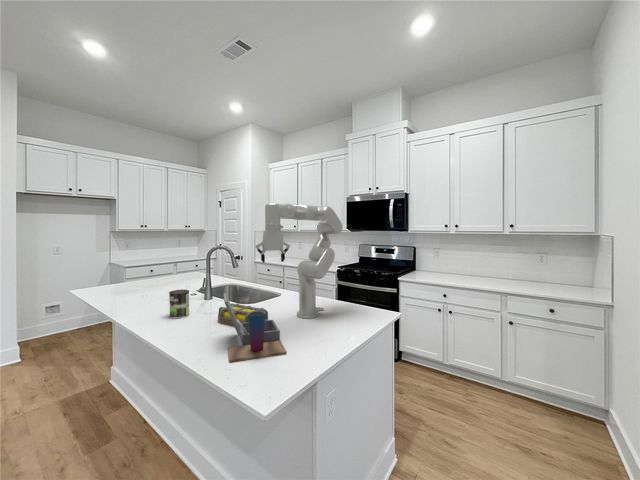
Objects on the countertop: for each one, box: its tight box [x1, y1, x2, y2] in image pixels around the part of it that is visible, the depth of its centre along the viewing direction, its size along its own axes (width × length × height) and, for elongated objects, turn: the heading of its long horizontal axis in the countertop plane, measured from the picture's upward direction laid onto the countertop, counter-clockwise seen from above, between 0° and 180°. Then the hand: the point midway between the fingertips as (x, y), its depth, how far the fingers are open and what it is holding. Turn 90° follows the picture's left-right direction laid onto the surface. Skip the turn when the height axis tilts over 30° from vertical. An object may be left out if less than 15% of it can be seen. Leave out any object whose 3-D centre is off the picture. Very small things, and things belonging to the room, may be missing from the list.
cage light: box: [217, 303, 269, 328], centre depth 153 cm, size 15×8×30 cm
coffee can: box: [168, 289, 190, 320], centre depth 163 cm, size 10×10×14 cm
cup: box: [248, 311, 265, 352], centre depth 117 cm, size 7×7×15 cm
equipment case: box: [236, 319, 281, 346], centre depth 132 cm, size 18×16×12 cm
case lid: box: [223, 292, 241, 337], centre depth 128 cm, size 16×16×1 cm
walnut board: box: [227, 340, 287, 364], centre depth 117 cm, size 22×12×1 cm, turn 110°
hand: (273, 261), depth 145 cm, fingers open, 9 cm apart
